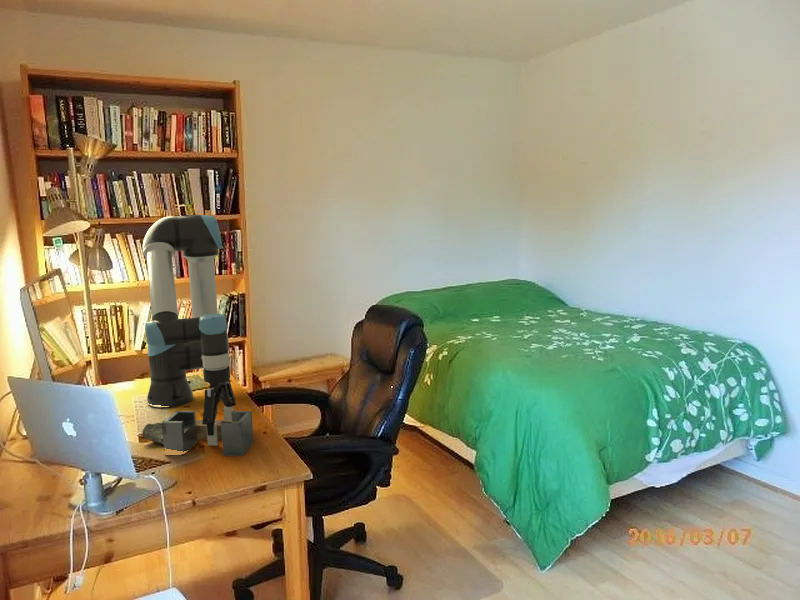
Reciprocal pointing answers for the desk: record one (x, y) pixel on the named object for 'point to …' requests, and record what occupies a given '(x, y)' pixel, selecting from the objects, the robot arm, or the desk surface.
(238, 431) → the bracket
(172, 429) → the bracket
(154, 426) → the rock sample
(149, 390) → the robot arm
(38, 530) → the desk surface
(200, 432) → the rail
